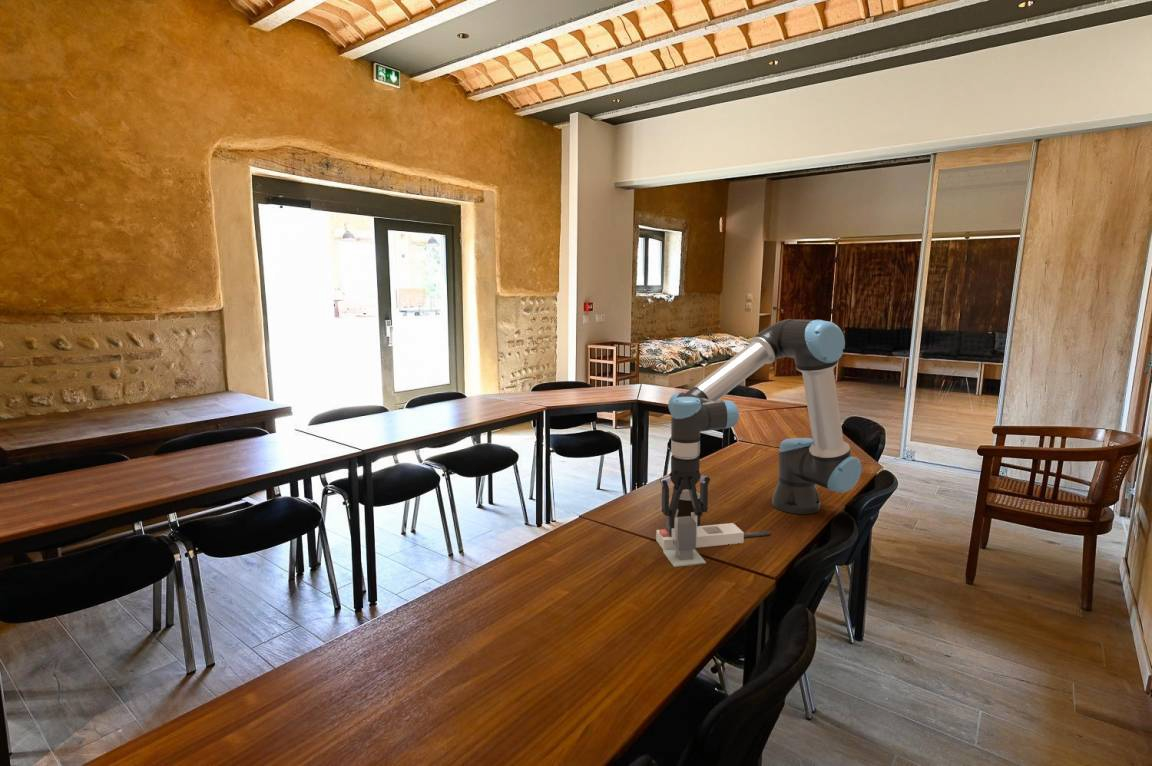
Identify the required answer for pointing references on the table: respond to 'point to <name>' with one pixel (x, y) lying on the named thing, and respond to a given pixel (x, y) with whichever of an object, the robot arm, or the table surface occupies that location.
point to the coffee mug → (685, 504)
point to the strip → (708, 535)
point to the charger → (685, 538)
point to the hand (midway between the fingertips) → (684, 537)
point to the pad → (677, 562)
